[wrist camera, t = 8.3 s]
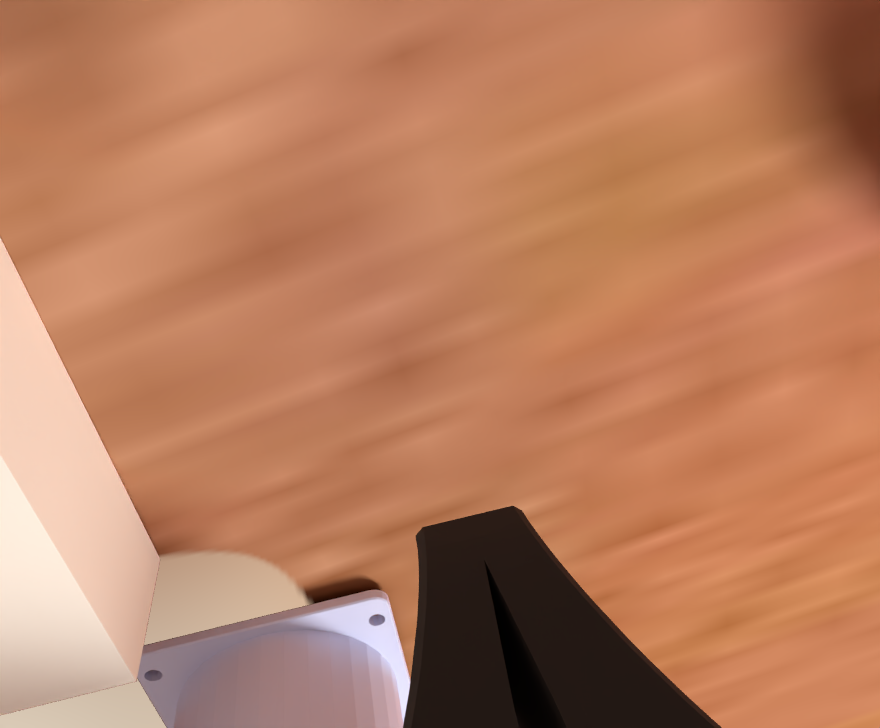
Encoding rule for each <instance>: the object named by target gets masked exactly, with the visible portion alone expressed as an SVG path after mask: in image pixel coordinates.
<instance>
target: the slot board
mask: <svg viewBox="0 0 880 728" xmlns="http://www.w3.org/2000/svg"><path fill="white" fill-rule="evenodd" d="M159 564H160V558H159V556H158V554H157V552H156V550H155V548H154V546H153V544H152V542H151V540H150V538H149V536H148V534H147V532H146V530H145V528H144V526H143V524H142V522H141V520H140V518H139V516H138V514H137V512H136V510H135V508H134V506H133V503H132V501H131V499H130V497H129V495H128V493H127V491H126V489H125V487H124V485H123V483H122V481H121V479H120V477H119V475H118V473H117V471H116V469H115V467H114V465H113V463H112V461H111V459H110V457H109V455H108V453H107V451H106V449H105V447H104V445H103V443H102V441H101V439H100V437H99V435H98V433H97V431H96V429H95V427H94V425H93V423H92V421H91V419H90V417H89V415H88V413H87V411H86V409H85V407H84V405H83V403H82V401H81V399H80V397H79V395H78V393H77V391H76V389H75V387H74V385H73V383H72V381H71V379H70V377H69V375H68V373H67V371H66V369H65V367H64V365H63V363H62V361H61V359H60V357H59V355H58V353H57V351H56V349H55V347H54V345H53V343H52V341H51V339H50V337H49V335H48V333H47V331H46V329H45V327H44V325H43V323H42V321H41V319H40V317H39V315H38V313H37V311H36V309H35V306H34V304H33V302H32V300H31V298H30V296H29V294H28V292H27V290H26V288H25V286H24V284H23V282H22V280H21V278H20V276H19V274H18V272H17V270H16V268H15V266H14V264H13V262H12V260H11V258H10V256H9V254H8V252H7V250H6V248H5V246H4V244H3V242H2V240H1V238H0V715H4V714H7V713H12V712H16V711H20V710H24V709H28V708H31V707H36V706H40V705H44V704H48V703H52V702H56V701H60V700H64V699H68V698H72V697H76V696H80V695H84V694H88V693H92V692H96V691H100V690H104V689H108V688H112V687H116V686H120V685H124V684H128V683H132V682H136V681H137V676H138V671H139V666H140V661H141V655H142V650H143V645H144V640H145V635H146V630H147V625H148V620H149V614H150V609H151V605H152V599H153V594H154V589H155V584H156V579H157V574H158V569H159Z"/></svg>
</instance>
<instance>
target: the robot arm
mask: <svg viewBox="0 0 880 728" xmlns="http://www.w3.org/2000/svg"><path fill="white" fill-rule="evenodd" d="M416 541H417V547H418V559H419V599H418V617H417V628H416V637H415V646H414V656H413V665H412V674H411V680H410V676H409V673H408V669H407V665H406V662H405V658H404V654H403V650H402V647H401V643H400V639H399V635H398V632H397V628H396V624H395V620H394V617H393V613H392V609H391V606H390V602H389V598H388V596H387V594H386V593H385V592H383V591H381V590H368V591H364V592H360V593H356V594H352V595H348V596H344V597H340V598H336V599H331V600H327V601H323V602H319V603H315V604H311V605H307V606H303V607H299V608H295V609H291V610H287V611H282V612H279V613H274V614H270V615H266V616H262V617H258V618H254V619H250V620H246V621H242V622H238V623H234V624H229V625H225V626H221V627H217V628H213V629H209V630H205V631H201V632H197V633H193V634H189V635H185V636H180V637H176V638H172V639H168V640H164V641H160V642H156V643H152V644H148V645H144V646H143V650H142V655H141V661H140V666H139V671H138V676H137V679H138V680H139V682H140V683H141V685H142V687H143V689H144V690H145V692H146V694H147V695H148V697H149V699H150V700H151V702H152V704H153V706H154V707H155V709H156V711H157V712H158V714H159V716H160V717H161V719H162V721H163V722H164V724H165V726H166V727H167V728H721V727H720V726H719V725H718V724H717V723H716V722H715V721H714V720H712V719H711V718H710V717H709V716H708V715H707V714H706V713H705V712H704V711H702V710H701V709H700V708H699V707H698V706H697V705H696V704H695V703H694V702H693V701H692V700H691V699H689V698H688V697H687V696H686V695H685V694H684V693H683V692H682V691H681V690H680V689H679V688H678V687H677V686H676V685H675V684H674V683H673V682H672V681H670V680H669V679H668V678H667V677H666V676H665V675H664V674H663V673H662V672H661V671H660V670H659V669H658V668H657V667H656V666H655V665H654V664H653V663H652V662H651V661H650V660H649V659H648V658H647V657H646V656H645V655H644V654H643V653H642V652H641V651H640V650H639V649H638V648H637V647H636V646H635V645H634V644H633V643H632V642H631V641H630V640H629V639H628V638H627V637H626V636H625V635H624V634H623V633H622V632H621V630H620V629H619V628H618V627H617V626H616V625H615V624H614V623H613V622H612V621H611V620H610V619H609V618H608V616H607V615H606V614H605V613H604V612H603V611H602V610H601V609H600V608H599V607H598V606H597V605H596V604H595V602H594V601H593V600H592V599H591V598H590V597H589V596H588V595H587V594H586V592H585V591H584V590H583V589H582V588H581V587H580V586H579V584H578V583H577V582H576V581H575V580H574V579H573V577H572V576H571V575H570V574H569V573H568V571H567V570H566V569H565V568H564V567H563V565H562V564H561V563H560V562H559V561H558V559H557V558H556V557H555V556H554V554H553V553H552V552H551V551H550V549H549V548H548V547H547V545H546V544H545V543H544V541H543V540H542V539H541V538H540V536H539V535H538V533H537V532H536V531H535V529H534V528H533V526H532V525H531V524H530V522H529V521H528V519H527V518H526V516H525V515H524V513H523V512H522V510H520V509H518V508H516V507H514V506H510V507H506V508H502V509H497V510H493V511H489V512H485V513H481V514H476V515H472V516H468V517H464V518H460V519H456V520H451V521H447V522H443V523H439V524H435V525H430V526H426V527H423V528H422V529H421V530H420V531H419V532H418V534H417V535H416ZM375 614H379V615H377V616H373V615H375Z"/></svg>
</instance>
